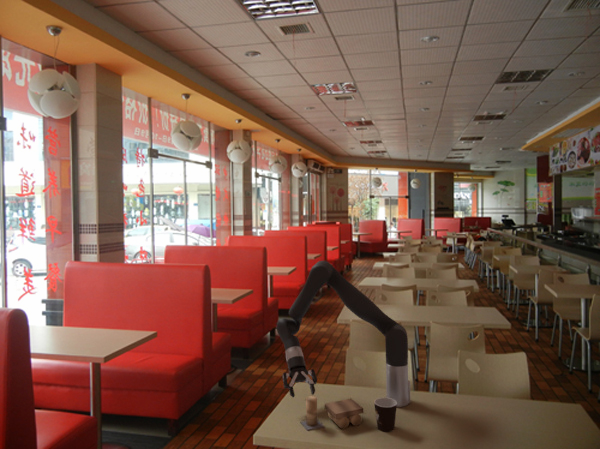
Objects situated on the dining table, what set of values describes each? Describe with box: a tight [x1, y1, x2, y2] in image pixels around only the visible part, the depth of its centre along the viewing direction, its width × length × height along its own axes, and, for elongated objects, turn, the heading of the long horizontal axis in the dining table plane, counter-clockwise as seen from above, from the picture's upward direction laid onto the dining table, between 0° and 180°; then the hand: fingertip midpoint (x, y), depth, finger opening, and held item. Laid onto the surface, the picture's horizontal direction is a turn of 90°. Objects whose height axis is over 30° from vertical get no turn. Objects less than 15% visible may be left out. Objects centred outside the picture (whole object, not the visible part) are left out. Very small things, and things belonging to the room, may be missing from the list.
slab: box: [324, 398, 364, 430], centre depth 184 cm, size 12×10×6 cm
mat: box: [300, 419, 325, 431], centre depth 182 cm, size 7×7×1 cm
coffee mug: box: [373, 397, 398, 433], centre depth 180 cm, size 12×9×10 cm
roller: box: [305, 395, 319, 426], centre depth 182 cm, size 4×4×10 cm
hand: (303, 395), depth 193 cm, fingers open, 8 cm apart
